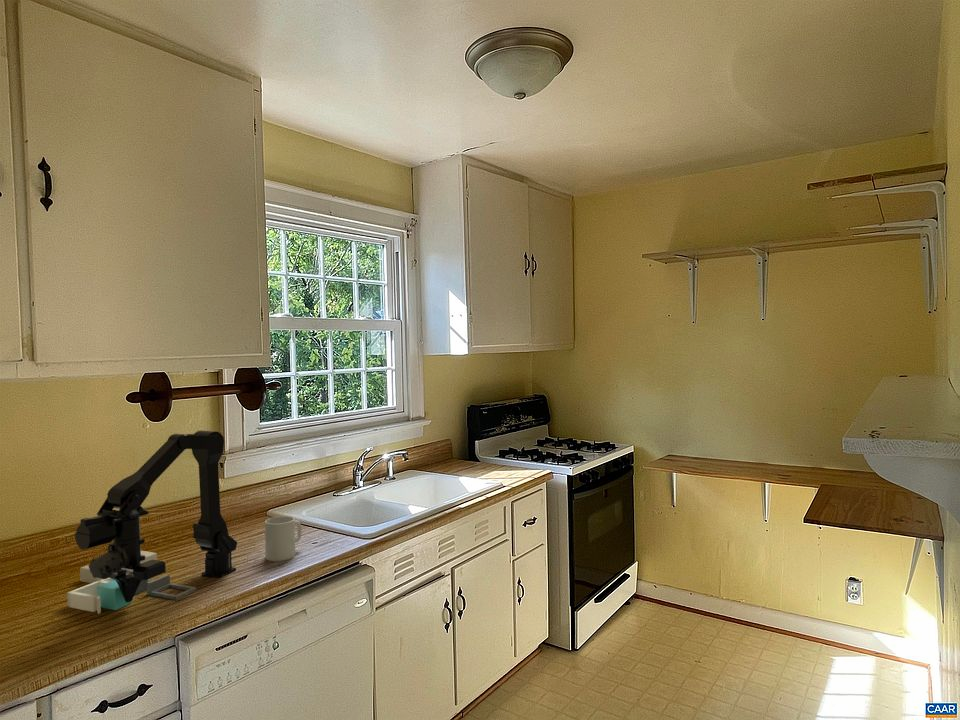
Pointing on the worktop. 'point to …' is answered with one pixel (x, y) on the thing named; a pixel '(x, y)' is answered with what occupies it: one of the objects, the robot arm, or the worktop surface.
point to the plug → (111, 596)
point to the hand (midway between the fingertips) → (128, 601)
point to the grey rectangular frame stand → (164, 583)
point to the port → (93, 595)
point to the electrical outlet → (88, 578)
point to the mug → (281, 538)
